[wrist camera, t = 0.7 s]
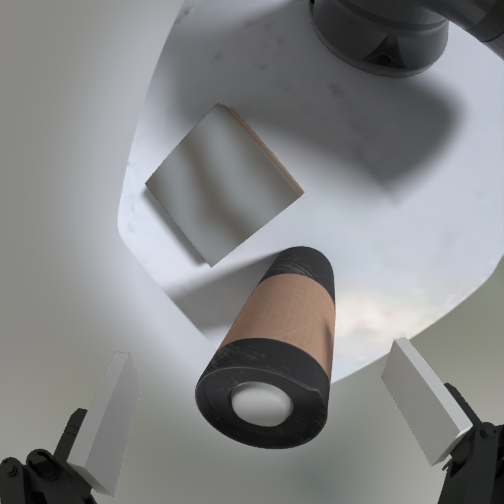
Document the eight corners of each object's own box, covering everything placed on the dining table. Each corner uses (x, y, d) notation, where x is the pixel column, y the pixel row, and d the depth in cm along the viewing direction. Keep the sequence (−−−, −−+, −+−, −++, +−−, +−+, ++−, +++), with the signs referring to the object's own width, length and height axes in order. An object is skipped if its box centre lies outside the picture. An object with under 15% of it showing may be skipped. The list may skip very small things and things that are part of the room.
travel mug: (259, 288, 34) (181, 416, 15) (284, 231, 31) (211, 338, 12) (317, 315, 33) (288, 462, 14) (347, 261, 30) (357, 401, 11)
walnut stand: (232, 109, 28) (217, 103, 24) (304, 192, 29) (299, 197, 25) (164, 179, 33) (144, 183, 29) (225, 255, 34) (211, 267, 30)
